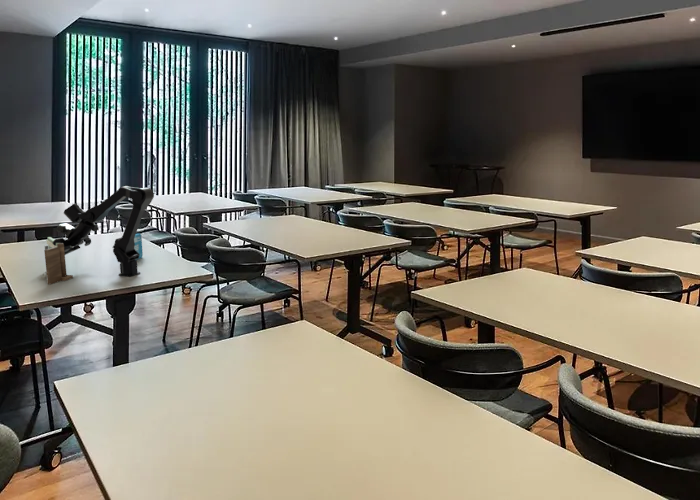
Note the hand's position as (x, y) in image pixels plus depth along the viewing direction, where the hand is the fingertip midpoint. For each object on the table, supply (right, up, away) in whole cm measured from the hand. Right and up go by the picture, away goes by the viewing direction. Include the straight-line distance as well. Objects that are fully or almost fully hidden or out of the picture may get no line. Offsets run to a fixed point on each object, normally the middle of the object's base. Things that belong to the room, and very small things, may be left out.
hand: (62, 255), depth 250 cm
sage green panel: (-1, -7, -4) cm, 8 cm away
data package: (+22, -3, +25) cm, 33 cm away
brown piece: (+7, -10, -16) cm, 20 cm away
